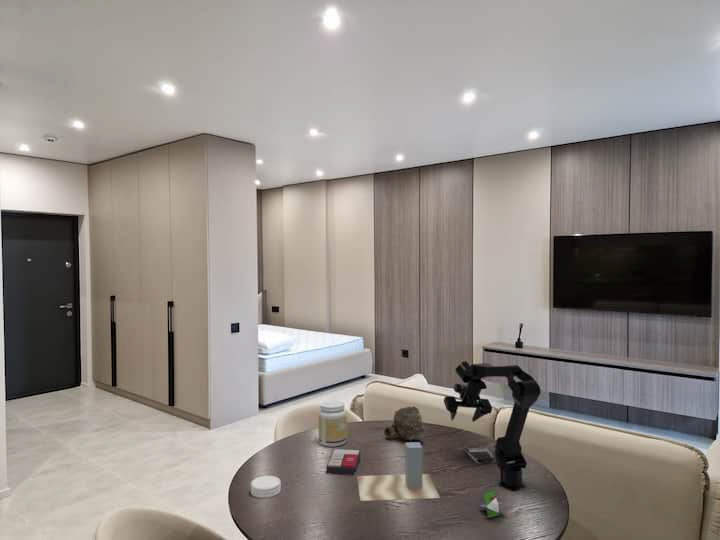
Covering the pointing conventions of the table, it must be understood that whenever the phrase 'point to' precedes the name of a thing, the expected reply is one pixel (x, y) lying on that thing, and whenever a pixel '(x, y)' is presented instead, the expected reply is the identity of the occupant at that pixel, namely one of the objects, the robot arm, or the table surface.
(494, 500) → the geometric puzzle
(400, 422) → the rock
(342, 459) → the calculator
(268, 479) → the white puck
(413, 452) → the pillar
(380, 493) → the board
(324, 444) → the supplement tub
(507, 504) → the table surface
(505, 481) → the robot arm
